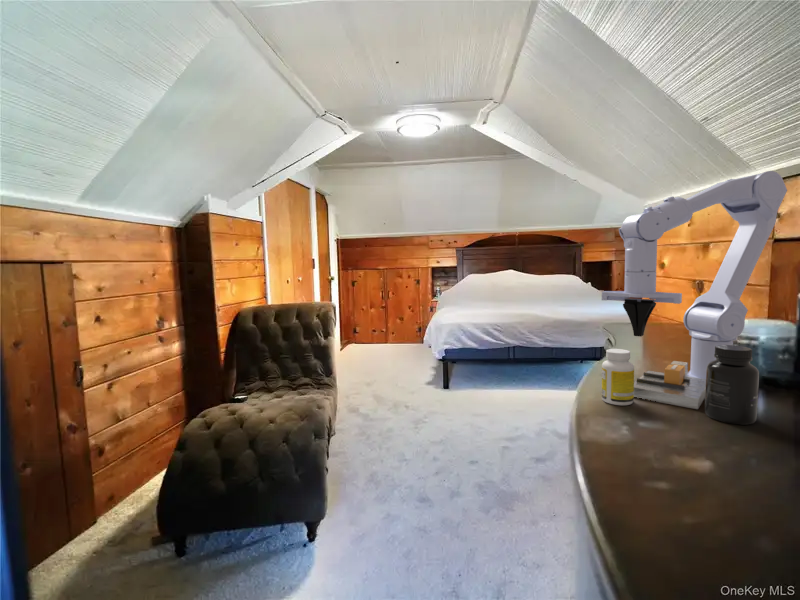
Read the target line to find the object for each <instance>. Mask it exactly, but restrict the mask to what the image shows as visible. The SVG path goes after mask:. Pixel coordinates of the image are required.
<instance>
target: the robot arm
mask: <svg viewBox="0 0 800 600" xmlns="http://www.w3.org/2000/svg"><path fill="white" fill-rule="evenodd" d="M787 191H788V189H787V186H786V183H785V181H784V179H783V177H782V175H781V174H780V173H778V172H777V171H774V170H768V171H764V172H762V173H758V174H752V175H748V176H742V177H739V178H738V177H737V178H729V179H727V180H725V181H721V182H717V183H716V184H713V185H711V186H709V187H707V188H705V189H704V190H702V191H699V192H697V193H695V194H693V195H691V196H689V197H687V198H684V197H681V196H668V197H666V198H664V199H663V202H662V203H659V204H658V205H655V206H653V207H652V206H648V207H645V208H643V212H642V213H637V214H631V215H628V216H627V217H626V218H625V219H624V220H623V222H622V224H621V226H620V227H618V233H619V236H620V237H621V239H622V240H623V248H625V249H624V290H604V291H601V301H618V302H621V301H622V302H623V304H622V307H623V308H624V310H625V312H626V314H627V316H628V318H629V321H630V324H631V328H632V332H633V336H634V337H642V336H644V335H645V334H644V333H645V329H646V327H647V323H648V320H649V318H650V316H651V314H652V312H653V310H654V309H655V307H656V306H657V303H664V304H665V303H666V304H669V303H670V304H677V305H678V304H679V305H680V304H681V303H682V301H683V299H682V298H683V293H681V292H664V291H663V292H662V291H657V288H656V287H657V265H658V264H657V260H658V259H657V257H658V240H660V239H661V238H662V236H663V235H664V233H666V232H668V231H671V230H673V229H676V228H677V227H680V226H681V225H684V224H687V223H688V222H689V221H691V219H692V217H693V214H694V213H696V212H699V211H700V212H701V211H702V210H705V209H707V208H709V207H712V206H715V205H718V204H720V205H721V206H722V208H723V209H724V210H726V212H727V214H728V215H729V216H730V217H731V218H732V219H733V221H736V222H738V224H739V225H738V228H737V231H736V232H735V235H734V236H733V238H732V241H731V243H730V246H729V248H728V249H727V251H726V254H725V256H724V258H723V261H722V263H721V265H720V267H719V269H718V270H717V273H716V275H715V277H714V280H713V282H712V283H711V286H710V288H709V290H707V291H706V292H705V293H703V294H701V295H700V296H699V295H698V297H696V298H695V300H694V302H693V303H692V305H690V306H689V307H688V308H687V309H686V311H685V312H684V315H683V321H682V322H683V325H684V327H685V328H686V330H687V331H688V334H689V336H691V342H690V343H691V344H690V345H691V347H690V366H689V367H690V370H689V371H688V374H687V376H688V377H695V378H702V379H706V370H707V365H708V364H709V363H710V362H712V361H714V360H716V358H715V357H714V353H715V346H717V345H734V341H737V338H738V337H740V336H741V335H742V333H743V331H744V329H745V320H746V315H747V314H748V311H749V310H748V308H747V306H746V305H745V304H744V303H743V302H742V301H741V299H740V298H742V297H741V296H742V295H743V292H744V291H745V288H746V286H747V284H748V282H749V280H750V278H751V277H752V273H753V272H754V269H755V267H756V266H757V264H758V263H757V262H758V261H759V259H760V256H761V255H762V253H763V250H764V249H765V247H766V245H767V243H768V240H769V238H770V236H771V234H772V231H773V229H774V227H775V225H776V222H777V216H778V210H779V209H780V207H781V204H782V202H783V200H784V199H785V196H786V195H787Z"/></svg>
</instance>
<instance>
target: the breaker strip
mask: <svg viewBox="0 0 800 600" xmlns="http://www.w3.org/2000/svg"><path fill="white" fill-rule="evenodd" d="M669 365H678V366H683V367H684V377H683V382H682V384H681V385H677V384H671V383H665V382H664V372H660V371H659V372H658V371H653V370H647V371H645V372H643V374H642V375H641V376H640V377H637V378H636V380H634V397H637V398H636V399H639V398H642V399H641V400H645V399H648V400H647V401H650V400H651V401H650V402H655V401H656V402H655V403H662V404H666V405H667V404H668V405H673V406H678V407H681V408H682V407H683V408H687V409H694V410H699V408H700V406H701V405H702V404H703V401H705V391H706V379H702V378H695V377H688V376H687V374H688V372H689V371H688V369H689V367H688V365H689V362H688V361H687V362H686V361H685V362H684V361H677V360H673V361H672V362H671V363H670V364H669Z"/></svg>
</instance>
